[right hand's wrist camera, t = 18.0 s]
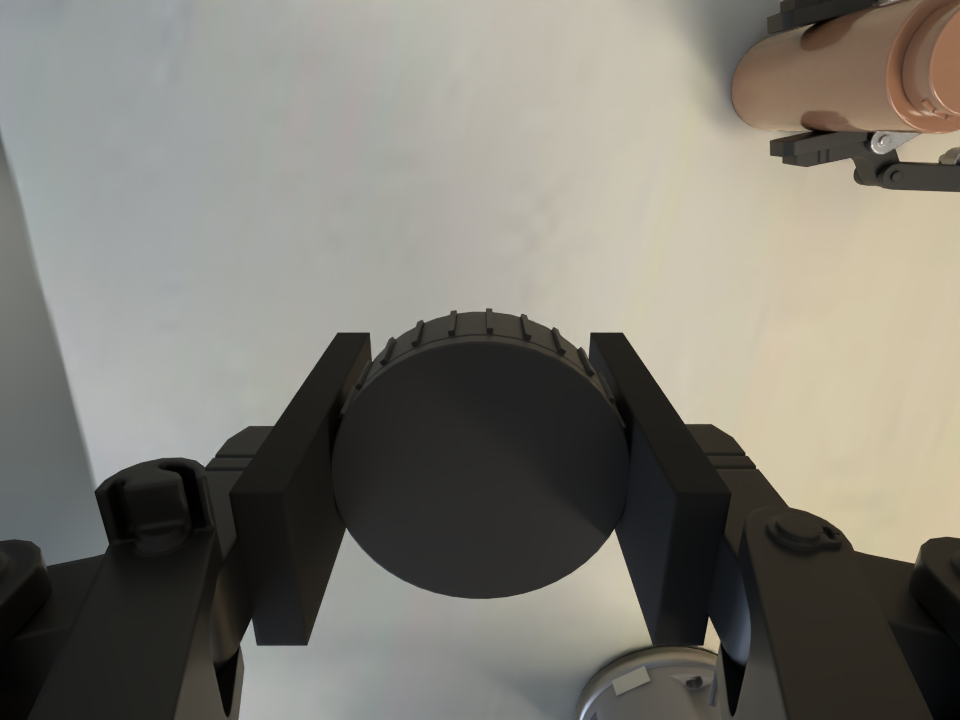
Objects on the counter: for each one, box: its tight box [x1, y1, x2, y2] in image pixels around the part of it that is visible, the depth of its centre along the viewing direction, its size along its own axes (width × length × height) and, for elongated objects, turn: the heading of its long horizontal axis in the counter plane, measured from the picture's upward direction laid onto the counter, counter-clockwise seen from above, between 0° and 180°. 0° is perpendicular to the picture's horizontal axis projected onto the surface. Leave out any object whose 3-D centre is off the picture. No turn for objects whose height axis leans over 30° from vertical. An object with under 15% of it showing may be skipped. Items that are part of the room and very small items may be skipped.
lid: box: [331, 308, 630, 599], centre depth 11 cm, size 5×5×2 cm
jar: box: [731, 0, 960, 134], centre depth 26 cm, size 5×5×15 cm
